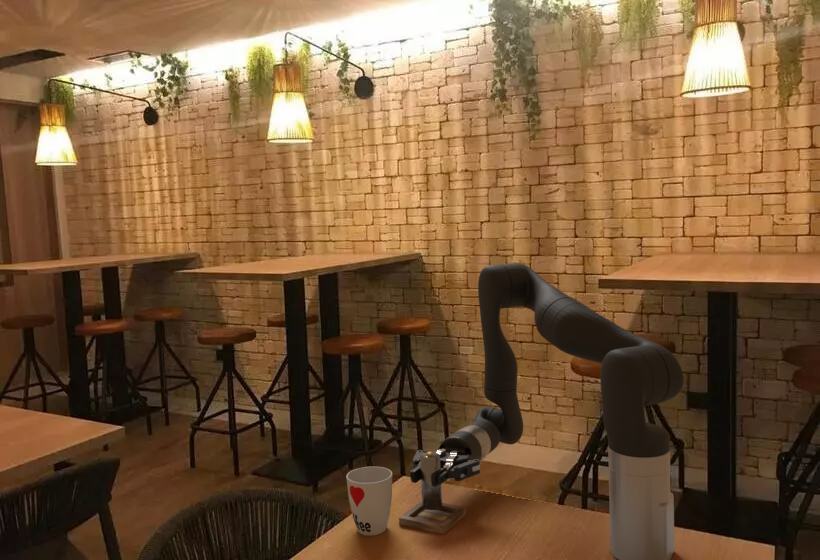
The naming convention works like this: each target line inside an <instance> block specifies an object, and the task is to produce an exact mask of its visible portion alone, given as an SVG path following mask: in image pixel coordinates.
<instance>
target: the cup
mask: <svg viewBox="0 0 820 560" xmlns="http://www.w3.org/2000/svg"><path fill="white" fill-rule="evenodd" d="M345 476H346V485H347V494H348V502H349V506H350V509H351V515H352V518H353V522H354V525H355V526H356V529H357V532H358V533H359V534H360V535H362V536H377V535H380V534H383V533H384V532H385V531H386V529H387V527H388V523H389V520H390V516H391V515H390V514H391V506H392V499H393V472H392V470H390V469H388V468H387V467H383V466H365V467H359V468H355V469H352V470H350V471H348V473H347V474H346V475H345Z"/></svg>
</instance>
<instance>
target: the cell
mask: <svg viewBox="0 0 820 560" xmlns="http://www.w3.org/2000/svg"><path fill="white" fill-rule="evenodd" d="M420 466H421V480H420V484H421V501H422V507H423V508H424V509H427V510H436V509H439V508H441V507H442V503H443V496H442V484H440V485H438V486H437V487H434V486H432V482H431V476H432V474H433V473H435V472H436V471H437V470H439V469H440V454H438V453H434V452H433V451H432V450H431V451H430V450H429V451H427V452H423V454H421V455H420Z"/></svg>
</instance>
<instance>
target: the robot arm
mask: <svg viewBox="0 0 820 560" xmlns="http://www.w3.org/2000/svg"><path fill="white" fill-rule="evenodd" d="M477 293H478V295H477V296H478V304H479V305H478V307H479V315H480V325H481V332H482V339H483V348H484V379H483V394H484V397H485V398H486V400H488V401H490V402H491V403H493V404H495V405H497V407H494V406H482V407H481V408H479V409H478V410H477V413H476V415H475V417H474V419H473V421H472V422H471V423H470V424H468V425H467V426H465V427H462V428H460V429H458V430H457V431H456V432H453V434H451V435H450V436H448V437H446V438H445V439H444V440H442V442H441V443H440V445H439V447H438V449H437V450H434V451H432V452H434V453H438V454H440V469H439V470H437V471H436V472H435V473H433V474H432V476H431V482H432V486H434V487H437V486H438V485H440V484H441V485H442V484H443V483H445V482H450V481H451V480H452V479H454V481H455V482H460V481H463V480H466V479H469V478H471V477H474V476H477V475H479V474H480V473H481V464H480V463H481V462H482V461H483V460H484V459H485V458H486V457H487V456H488V455H489V454H491V453H492V452H493V451H494V450H495V449H496V448H497V447H498V446H499V444H500V443H502V444H506V445H514V444H516V443H517V442H518V441H520V439H521V438H522V436H523V432H524V421H523V416H522V412H521V408H520V404H519V398H518V395H517V394H518V393H517V387H518V384H517V383H518V361H517V358H516V354H515V353H514V351H513V349H512V347H511V345H510V343H509V342H508V340H507V338H506V336H505V333H504V332H503V330H502V327H501V321H500V319H501V317H500V316H501V309H511V308H527V309H529V310H531V311H532V312H534V315H533V316H534V324H535V327H536V329H537V331H538V333H539V335H541V337H542V338H544V340H546V341H547V342H549V343H550V344H551V345H552V346H554V347H555V348H557V349H558V350H560V351H562V352H563V353H565V354H568V355H570V356H573V357H575V358H579V359H583V360H586V361H590V362H594V363H597V364H598V363H599V364H601V366H600V393H601V404H602V405H601V406H602V417H603V425H604V429H605V433H606V436H607V446H608V448H607V449H608V491H609V492H608V494H609V497H608V499H609V502H608V503H609V504H608V505H609V542H610V543H609V546H610V553H611V554H612V556H613V557H614V558H615V559H617V560H671V559H672V557H673V554H674V552H675V501H674V500H675V499H674V493H673V492H671V489H672V488H671V439H670V437H671V436H670V433H669V432H668V430H667V429H665V428H664V427H663V426H661V425H658V424H654V423H651V422H647V421H646V416H645V406H650V405H656V404H662V403H665V402H668V401H670V400H672V399H674V398H675V397H676V396H677V395H679V394H680V392H681V390H682V388H683V387H684V380H685V379H684V377H685V376H684V372H683V368H682V366H681V365H680V362H679V361H678V359H677V358H676V357H675V356H674V354H673V353H672V352H671V351H670V350H669V349H667V348H666V347H664V346H663V345H661V344H659V343H656V342H655V341H652V340H649V339H647V338H645V337H642V336H640V335H638V334H635V333H634V332H631V331H628V330H627V329H625V328H623V327H622V326H619V325H618V324H616V323H615V322H613V321H611V320H610V319H608V318H606V317H605V316H603V315H601V314H599V313H597V312H595V310H593V309H592V308H590V307H588V306H587V305H585V304H584V303H582V302H580V301H578V300H577V299H576V298H573V297H571V296H569V295H568V294H566V293H565V292H562V291H561V290H560V289H558V288H557V287H555V286H554V285H552V284H550V283H549V282H547V280H545V279H544V278H543V277H542V276H541V275H540V274H538V273H537V271H535V270H533V269H532V268H531V267H529V266H528V265H526V264H524V263H519V262H518V263H517V262H513V263H510V262H509V263H501V264H500V263H499V264H492V265H491V264H490V265H486V266H484V267H483V268H482V269H481V271H480V273H479V276H478V281H477ZM498 407H499V408H498ZM423 453H424V450H422V449H418V450H416V452H415V454H414V456H413V458H412V469H410V472H409V474H410V481H411V483H414V484H416V483H418V482H419V481H421V466H420V455H421V454H423Z"/></svg>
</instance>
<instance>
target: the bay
mask: <svg viewBox="0 0 820 560" xmlns="http://www.w3.org/2000/svg"><path fill="white" fill-rule="evenodd" d="M466 515H467V507H466V506H460V505H456V504H451V503H446V502H442V507H441V508H439V509H436V510H427V509H424V508H423V507H422V500H420V501H419V502H418V503H416V504H415V505H414V506H412V507H411V508H410V509H409V510H407V511H406V512H404V513H403V514H402V515H400V516H399V517H398V525H399V526H403V527H408V528H412V529H416V530H422V531H426V532H431V533H434V534H435V533H436V534H440V535H445V534H446V533H447V532H448V531H449V530H450V529H451V528H453V527H454V526H455V525H456V524H457V523H459V522H460V521H461V519H463V518H464V517H465V516H466Z"/></svg>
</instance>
